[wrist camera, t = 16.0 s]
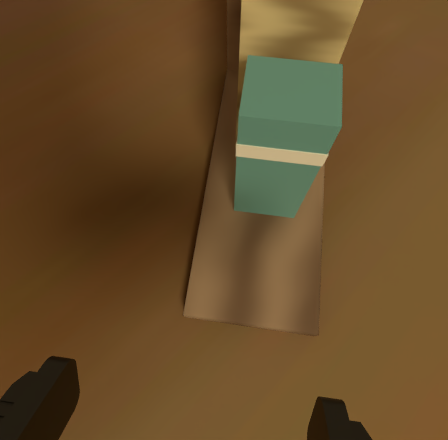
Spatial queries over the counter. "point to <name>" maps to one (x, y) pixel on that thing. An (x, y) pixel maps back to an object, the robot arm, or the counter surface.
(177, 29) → the counter surface
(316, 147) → the teal book
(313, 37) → the book rack
